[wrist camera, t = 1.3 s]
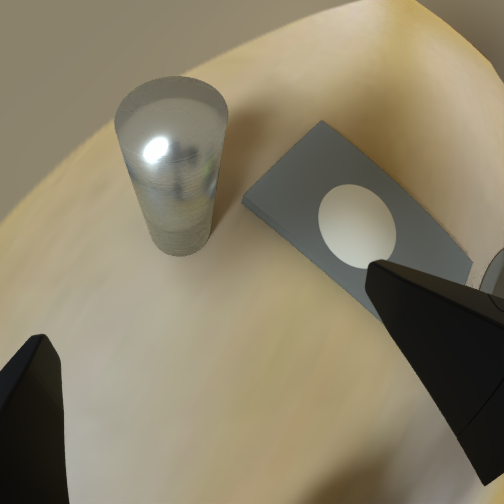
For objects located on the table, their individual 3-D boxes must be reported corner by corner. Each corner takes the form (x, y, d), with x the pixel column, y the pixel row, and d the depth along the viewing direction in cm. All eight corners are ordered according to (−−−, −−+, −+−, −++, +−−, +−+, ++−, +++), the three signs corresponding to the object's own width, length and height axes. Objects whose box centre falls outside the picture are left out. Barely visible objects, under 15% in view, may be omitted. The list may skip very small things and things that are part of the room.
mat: (464, 265, 26) (473, 261, 25) (423, 360, 22) (433, 360, 21) (317, 127, 27) (321, 119, 26) (241, 202, 23) (243, 194, 22)
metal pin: (223, 225, 23) (251, 112, 11) (181, 269, 21) (167, 181, 10) (179, 188, 23) (174, 63, 12) (137, 228, 21) (93, 119, 10)
